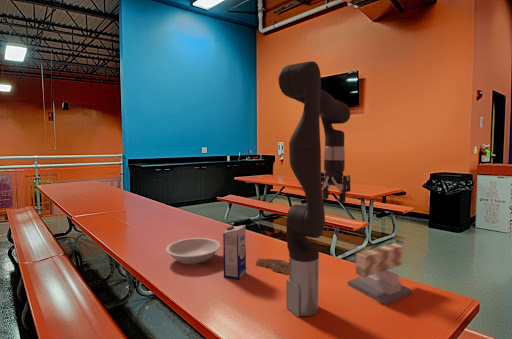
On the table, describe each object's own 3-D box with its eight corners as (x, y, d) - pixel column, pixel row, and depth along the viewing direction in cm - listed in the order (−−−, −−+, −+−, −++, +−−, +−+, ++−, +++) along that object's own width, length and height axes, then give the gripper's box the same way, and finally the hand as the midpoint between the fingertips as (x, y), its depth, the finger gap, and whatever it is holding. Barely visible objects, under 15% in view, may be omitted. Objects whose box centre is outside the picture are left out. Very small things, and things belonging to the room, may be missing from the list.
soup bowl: (195, 247, 155) (194, 234, 154) (232, 257, 141) (231, 243, 140) (154, 263, 135) (154, 248, 135) (192, 277, 122) (192, 261, 121)
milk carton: (239, 280, 118) (238, 229, 116) (223, 277, 121) (222, 227, 119) (246, 272, 125) (245, 224, 123) (231, 270, 127) (230, 223, 125)
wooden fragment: (249, 263, 135) (249, 261, 135) (265, 256, 143) (265, 254, 143) (298, 281, 118) (298, 278, 118) (314, 272, 126) (314, 269, 126)
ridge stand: (385, 304, 100) (386, 282, 99) (347, 284, 114) (348, 265, 113) (411, 293, 107) (412, 273, 106) (373, 276, 121) (374, 257, 120)
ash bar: (364, 277, 103) (364, 257, 103) (355, 273, 107) (356, 253, 106) (401, 264, 113) (402, 246, 113) (393, 261, 117) (393, 243, 116)
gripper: (314, 157, 120) (313, 198, 122) (341, 160, 108) (340, 205, 110) (328, 157, 124) (327, 197, 126) (356, 159, 112) (355, 203, 114)
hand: (333, 200), depth 118 cm, fingers open, 8 cm apart
